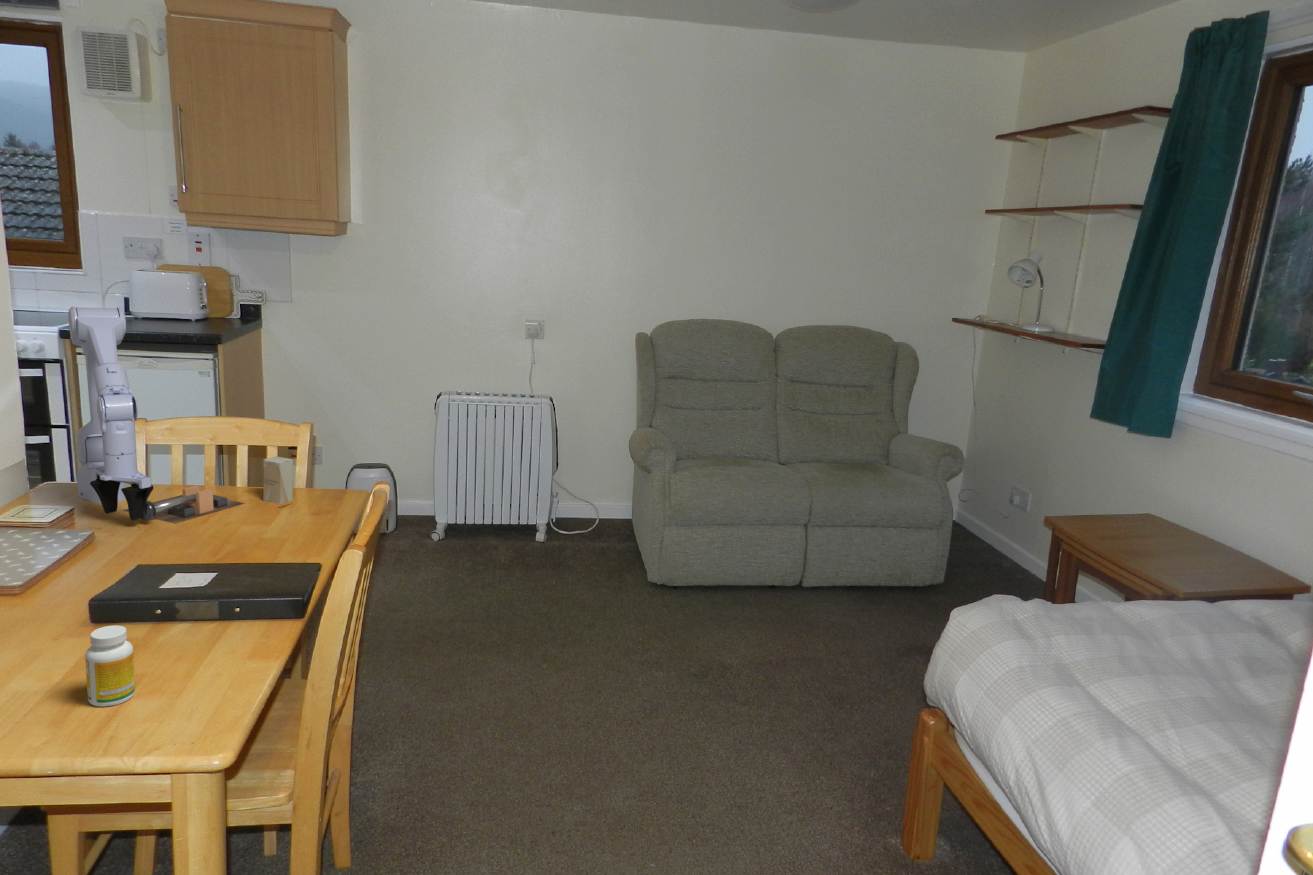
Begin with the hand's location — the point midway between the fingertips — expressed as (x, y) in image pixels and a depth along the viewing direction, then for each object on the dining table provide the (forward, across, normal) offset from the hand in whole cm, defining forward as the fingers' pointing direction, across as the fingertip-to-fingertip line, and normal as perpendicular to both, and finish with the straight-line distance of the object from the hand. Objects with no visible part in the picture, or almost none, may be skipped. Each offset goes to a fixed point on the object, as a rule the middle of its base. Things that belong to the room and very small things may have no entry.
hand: (123, 515), depth 174 cm
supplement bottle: (+3, +59, -45) cm, 74 cm away
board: (+3, 0, +15) cm, 15 cm away
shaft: (+1, +3, +8) cm, 9 cm away
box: (+3, +11, +30) cm, 32 cm away
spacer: (+2, +4, +15) cm, 15 cm away
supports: (+2, +3, +15) cm, 15 cm away
